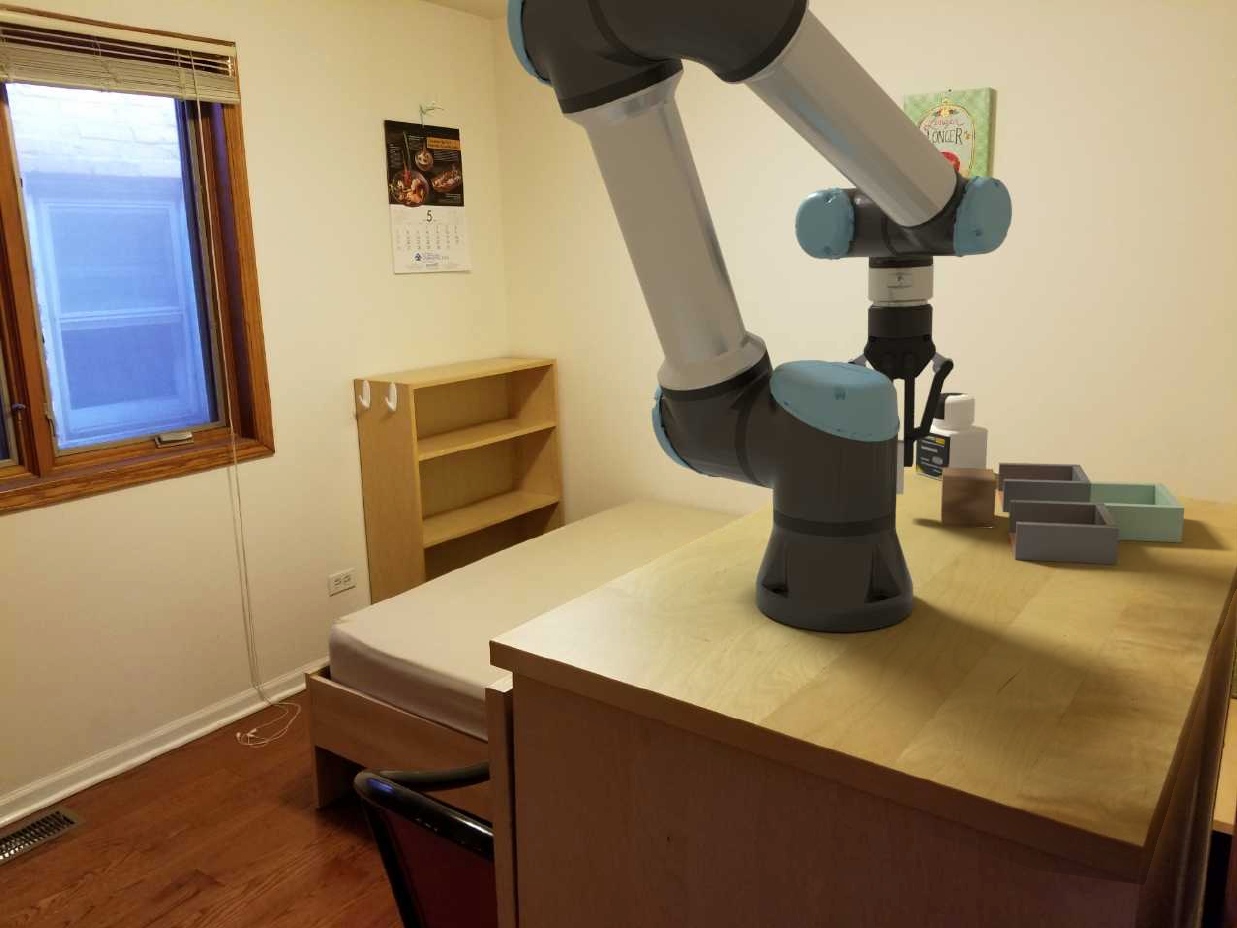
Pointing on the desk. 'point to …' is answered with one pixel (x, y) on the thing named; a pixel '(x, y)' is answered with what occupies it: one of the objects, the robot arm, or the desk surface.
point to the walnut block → (968, 497)
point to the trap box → (1081, 513)
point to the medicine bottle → (952, 438)
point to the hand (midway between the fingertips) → (897, 491)
